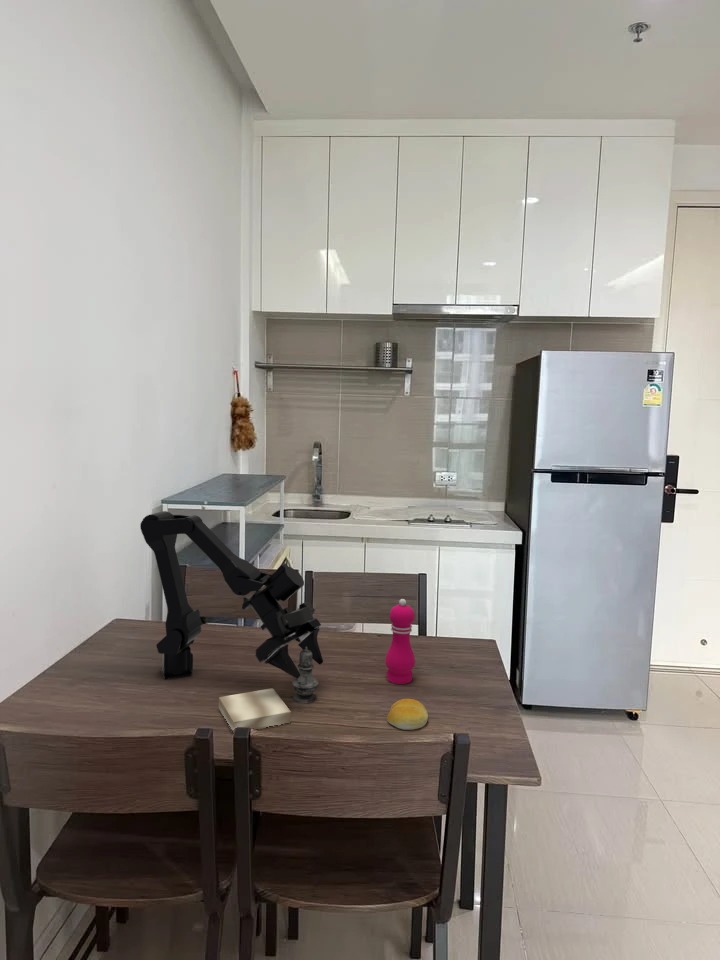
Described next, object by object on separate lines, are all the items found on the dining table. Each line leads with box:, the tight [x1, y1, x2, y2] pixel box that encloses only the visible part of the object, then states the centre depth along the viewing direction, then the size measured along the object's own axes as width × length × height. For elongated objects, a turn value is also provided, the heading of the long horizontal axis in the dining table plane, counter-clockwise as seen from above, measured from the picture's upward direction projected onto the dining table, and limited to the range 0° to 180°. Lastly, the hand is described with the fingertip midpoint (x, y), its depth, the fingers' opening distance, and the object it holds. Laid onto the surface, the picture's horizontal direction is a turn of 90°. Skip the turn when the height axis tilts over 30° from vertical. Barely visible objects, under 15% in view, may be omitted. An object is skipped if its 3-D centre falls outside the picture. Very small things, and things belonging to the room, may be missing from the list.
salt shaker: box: [291, 646, 319, 704], centre depth 144 cm, size 6×6×12 cm
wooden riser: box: [218, 688, 292, 730], centre depth 136 cm, size 12×12×2 cm
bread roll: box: [386, 698, 429, 731], centre depth 136 cm, size 8×9×4 cm
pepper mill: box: [385, 598, 416, 685], centre depth 156 cm, size 7×7×20 cm
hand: (310, 670), depth 144 cm, fingers open, 9 cm apart
